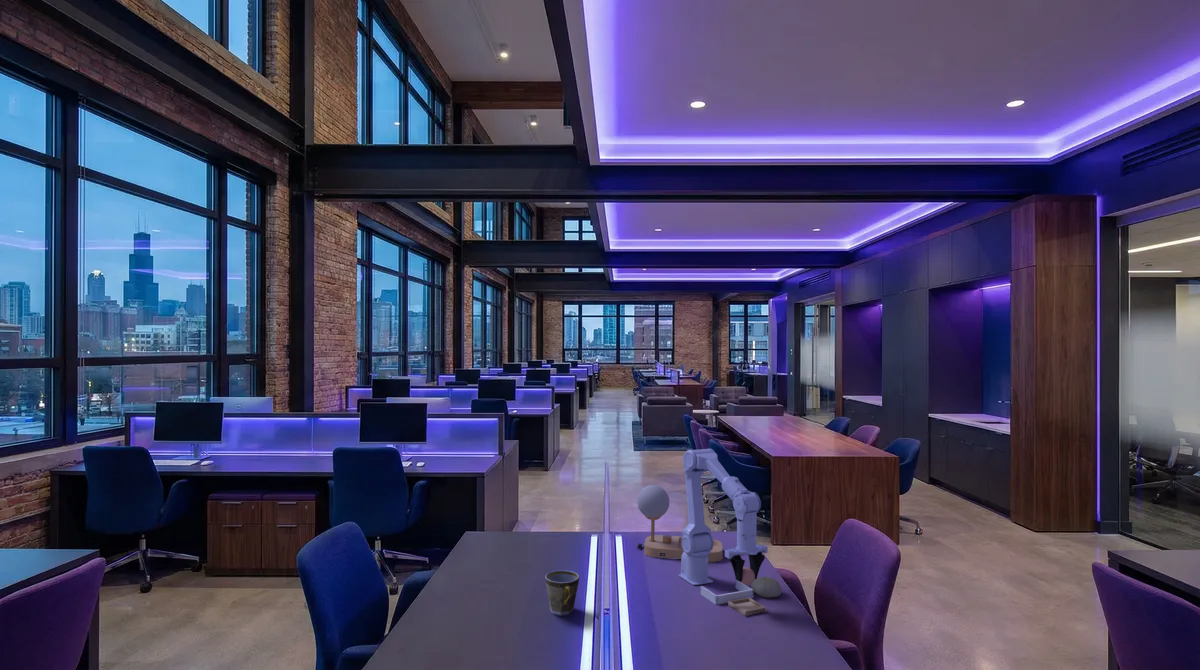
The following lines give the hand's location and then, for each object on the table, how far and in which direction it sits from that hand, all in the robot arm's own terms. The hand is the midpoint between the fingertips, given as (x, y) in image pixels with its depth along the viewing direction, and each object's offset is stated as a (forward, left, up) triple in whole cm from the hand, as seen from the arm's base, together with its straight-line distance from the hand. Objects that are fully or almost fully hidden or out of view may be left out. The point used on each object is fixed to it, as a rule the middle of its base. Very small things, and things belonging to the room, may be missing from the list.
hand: (746, 579), depth 177 cm
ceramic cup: (-17, -53, -9) cm, 56 cm away
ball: (0, 0, -2) cm, 2 cm away
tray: (0, 0, -9) cm, 9 cm away
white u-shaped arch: (-9, 0, -9) cm, 13 cm away
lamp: (-51, +8, -9) cm, 52 cm away
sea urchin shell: (-7, +13, -9) cm, 17 cm away
